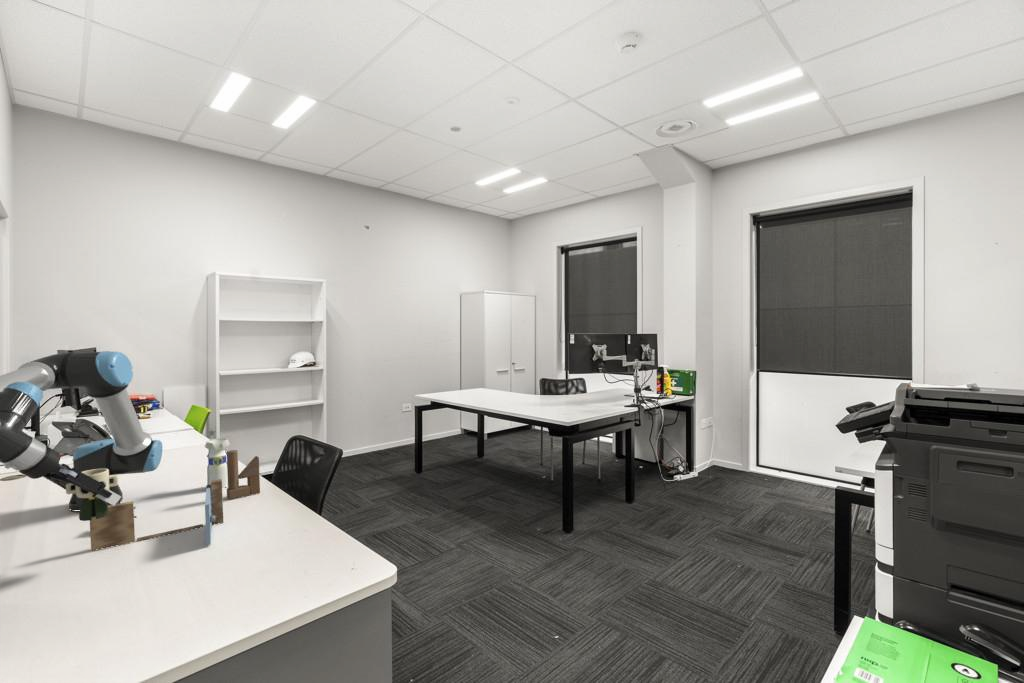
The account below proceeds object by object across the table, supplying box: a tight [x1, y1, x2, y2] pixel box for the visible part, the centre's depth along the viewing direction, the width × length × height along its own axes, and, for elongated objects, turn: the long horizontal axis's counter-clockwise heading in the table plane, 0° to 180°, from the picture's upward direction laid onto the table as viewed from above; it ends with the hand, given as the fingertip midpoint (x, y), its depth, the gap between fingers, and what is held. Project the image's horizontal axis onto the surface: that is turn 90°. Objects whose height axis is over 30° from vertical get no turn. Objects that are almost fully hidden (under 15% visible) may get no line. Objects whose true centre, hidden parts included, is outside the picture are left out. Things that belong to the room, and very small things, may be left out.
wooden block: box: [226, 449, 261, 500], centre depth 186 cm, size 4×11×18 cm, turn 134°
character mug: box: [65, 468, 119, 522], centre depth 133 cm, size 11×7×13 cm, turn 130°
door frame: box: [89, 479, 224, 551], centre depth 151 cm, size 33×2×14 cm, turn 126°
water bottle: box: [204, 428, 230, 489], centre depth 196 cm, size 8×9×25 cm
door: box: [204, 488, 215, 546], centre depth 150 cm, size 18×2×12 cm, turn 31°
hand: (107, 499), depth 137 cm, fingers closed on character mug, 7 cm apart
